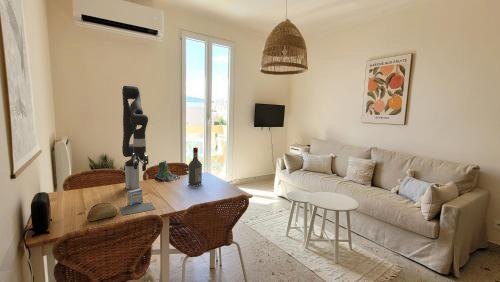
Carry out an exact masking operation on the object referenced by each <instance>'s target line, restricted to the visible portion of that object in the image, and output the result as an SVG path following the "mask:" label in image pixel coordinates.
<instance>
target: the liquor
mask: <svg viewBox="0 0 500 282" xmlns="http://www.w3.org/2000/svg"><path fill="white" fill-rule="evenodd" d="M192 151H193V153H192V157H193V158H192V160H191V161H190V162H189V164H188V175H187V176H188V180H187V181H188V185H189V186H193V185H197V186H200V185H201V184H202V181H203V179H202V178H203V176H202V175H203V164H202V163H201V161H200V160H199V157H198V156H199V155H198V152H199V148H198V147H196V146H195V147H193V148H192ZM199 184H200V185H199Z"/></svg>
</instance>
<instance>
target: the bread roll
mask: <svg viewBox="0 0 500 282" xmlns="http://www.w3.org/2000/svg"><path fill="white" fill-rule="evenodd" d="M117 214H118V209H117V207H116V206H115V205H114V204H112V203H111V202H100V203H97V204H94V205H93V206H92V207H91V208H90V209H89V211H88V213H87V216H86V220H87V221H88V222H94V221H97V220H98V221H99V220H102V219H107V218H111V217H115V216H116V215H117Z"/></svg>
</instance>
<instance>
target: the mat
mask: <svg viewBox="0 0 500 282" xmlns="http://www.w3.org/2000/svg"><path fill="white" fill-rule="evenodd" d="M119 209H120V211H121V214H122V216H127V215H131V214H137V213H143V212H147V211H154V209H155V210H156V209H157V208H156V207H155V205H154V204H153V203H152V201H150V202H145V203H143V202H142V203H139V204H136V205H133V206H131V205H127V206H120V207H119Z"/></svg>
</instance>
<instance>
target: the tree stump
mask: <svg viewBox="0 0 500 282" xmlns="http://www.w3.org/2000/svg"><path fill="white" fill-rule="evenodd" d="M168 167H169V165H168V163H167V160H163V161H160V162H159V163H158V172H157V174H155V175H154V177H155V178H157V179H158V180H160V181H163V182H174V181H173V180H175V181H177V179H178V180H180V178H181V177H180V176H179V175H178V174H174V173H172V172H171V171H170V169H169V168H168ZM176 177H177V178H176Z"/></svg>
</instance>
